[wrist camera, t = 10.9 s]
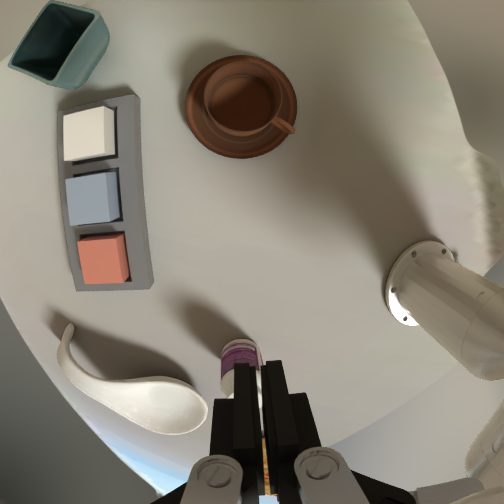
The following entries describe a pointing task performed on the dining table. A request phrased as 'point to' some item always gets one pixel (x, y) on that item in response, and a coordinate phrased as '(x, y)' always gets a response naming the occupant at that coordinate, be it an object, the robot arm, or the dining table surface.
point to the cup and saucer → (241, 107)
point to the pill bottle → (239, 354)
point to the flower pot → (62, 45)
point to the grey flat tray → (128, 191)
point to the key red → (104, 258)
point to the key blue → (92, 198)
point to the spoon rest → (139, 396)
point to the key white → (88, 134)
